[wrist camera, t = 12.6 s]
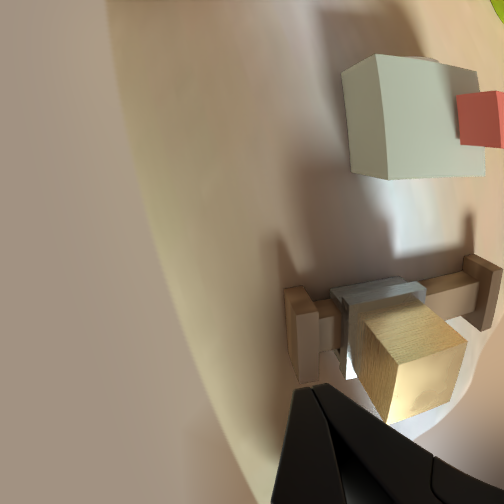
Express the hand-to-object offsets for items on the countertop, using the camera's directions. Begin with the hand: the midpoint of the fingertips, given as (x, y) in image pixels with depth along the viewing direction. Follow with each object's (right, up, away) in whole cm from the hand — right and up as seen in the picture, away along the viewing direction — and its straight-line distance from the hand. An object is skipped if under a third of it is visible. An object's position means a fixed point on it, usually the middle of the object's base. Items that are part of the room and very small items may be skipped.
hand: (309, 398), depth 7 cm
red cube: (+10, +10, +6) cm, 16 cm away
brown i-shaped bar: (+8, 0, +14) cm, 16 cm away
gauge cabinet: (+7, +11, +10) cm, 17 cm away
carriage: (+6, 0, +14) cm, 15 cm away
